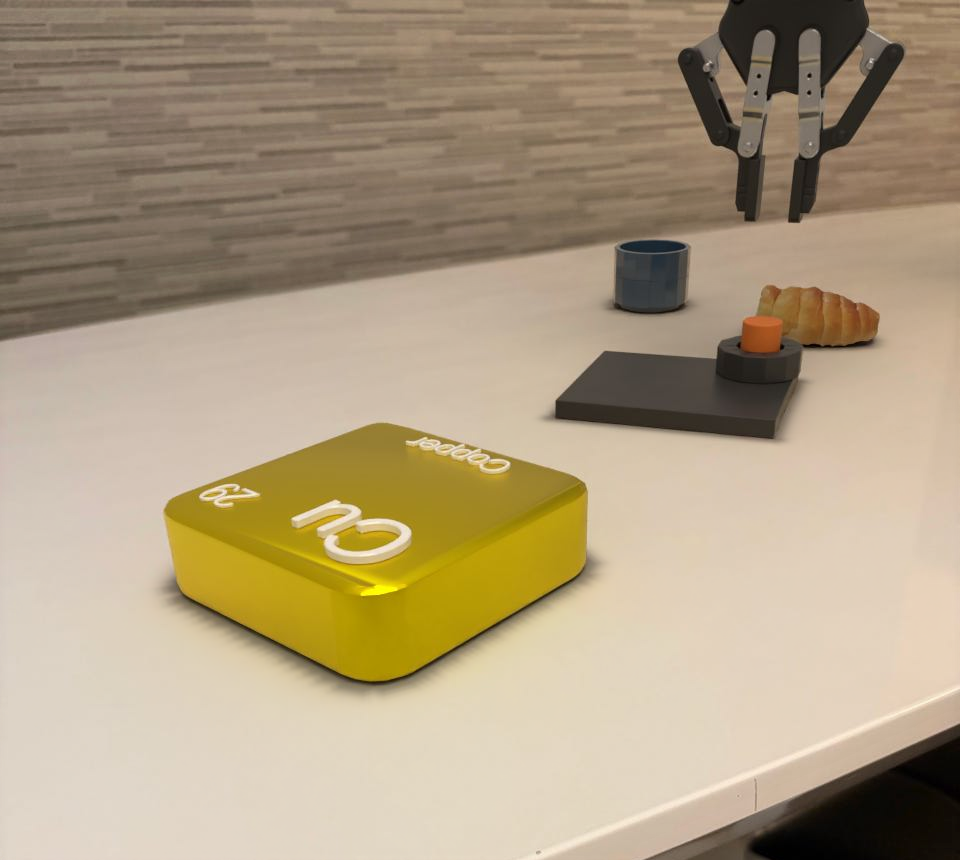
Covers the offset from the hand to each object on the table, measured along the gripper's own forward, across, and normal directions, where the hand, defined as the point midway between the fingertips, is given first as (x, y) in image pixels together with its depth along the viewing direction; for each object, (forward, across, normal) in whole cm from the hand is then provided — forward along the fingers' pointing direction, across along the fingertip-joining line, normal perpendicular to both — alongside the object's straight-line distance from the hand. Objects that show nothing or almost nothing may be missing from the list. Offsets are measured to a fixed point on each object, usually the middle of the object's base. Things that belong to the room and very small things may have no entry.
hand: (773, 219), depth 69 cm
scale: (+11, +4, +4) cm, 12 cm away
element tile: (+11, +12, +34) cm, 37 cm away
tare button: (+8, 0, 0) cm, 8 cm away
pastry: (+11, -2, -14) cm, 18 cm away
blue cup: (+11, +12, -22) cm, 27 cm away
